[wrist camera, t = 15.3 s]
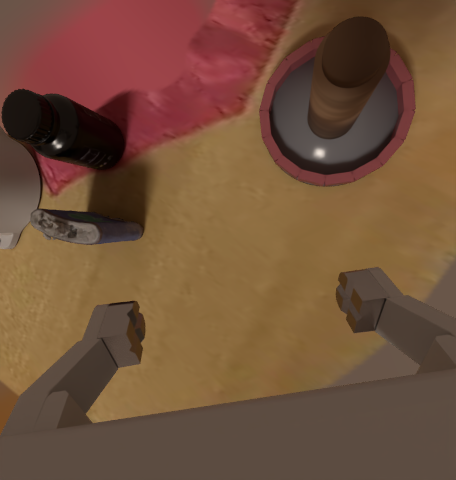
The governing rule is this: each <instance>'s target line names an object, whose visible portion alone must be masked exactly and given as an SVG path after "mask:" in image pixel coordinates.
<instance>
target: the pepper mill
mask: <svg viewBox="0 0 456 480" xmlns="http://www.w3.org/2000/svg"><path fill="white" fill-rule="evenodd" d="M390 55H391V51H390V44H389V41H388V37H387V34H386V31H385V29H384V28H383V26H382V25H381V24H380V23H379V22H377V21H376V20H374V19H371V18H368V17H353V18H350V19H347V20H345V21H343V22H341V23H340V24H339V25H337V26H336V27H335V28H334V29H333V30H332V31H331V32H329V33H328V34H327V35H326V36H325V38H324V39H323V40H322V42H321V43H320V45H319V47H318V49H317V52H316V55H315V61H314V68H313V76H312V84H311V92H310V100H309V108H308V116H307V121H308V125H309V128H310V129H311V131H312V132H313V133H314V134H315V135H316V136H318V137H320V138H322V139H336V138H339V137H341V136H343V135H345V134H346V133H347V132H348V131H349V130H350V129H351V128H352V126H353V124H354V123H355V121H356V120H357V118H358V116H359V115H360V113H361V111H362V110H363V108H364V106H365V105H366V103H367V101H368V100H369V98H370V97H371V95H372V93H373V92H374V90H375V88H376V87H377V85H378V83H379V82H380V80H381V79H382V77H383V75H384V74H385V72H386V70H387V68H388V65H389V61H390Z"/></svg>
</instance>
